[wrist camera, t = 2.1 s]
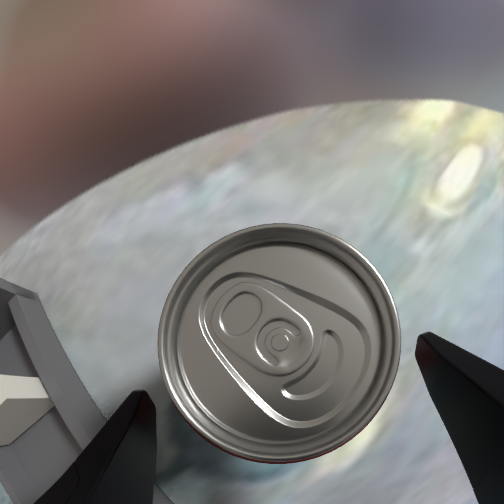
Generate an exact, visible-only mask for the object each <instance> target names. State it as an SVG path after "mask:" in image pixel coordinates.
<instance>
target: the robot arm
mask: <svg viewBox="0 0 504 504" xmlns="http://www.w3.org/2000/svg"><path fill="white" fill-rule="evenodd" d="M415 357H416V361H417V363H418V366H419V368H420V371H421V373H422V376H423V379H424V381H425V384H426V387H427V389H428V392H429V394H430V396H431V399H432V401H433V403H434V405H435V407H436V409H437V411H438V413H439V415H440V417H441V419H442V421H443V423H444V425H445V427H446V429H447V431H448V433H449V435H450V438H451V440H452V442H453V444H454V446H455V448H456V451H457V453H458V455H459V457H460V459H461V462H462V464H463V466H464V469H465V471H466V473H467V476H468V478H469V480H470V483H471V485H472V488H473V491H474V493H475V495H476V498H477V501H478V503H479V504H504V370H502V369H500V368H498V367H496V366H495V365H493V364H491V363H489V362H487V361H485V360H483V359H481V358H479V357H477V356H476V355H474V354H472V353H470V352H468V351H466V350H464V349H462V348H460V347H458V346H457V345H455V344H453V343H451V342H449V341H447V340H445V339H443V338H441V337H439V336H437V335H436V334H434V333H432V332H426V333H423V334H420V335H419V336H418V339H417V344H416V350H415ZM156 453H157V438H156V408H155V405H154V403H153V402H152V400H151V398H150V397H149V395H148V393H147V392H146V391H145V390H135V391H133V392H131V394H130V395H129V396H128V397H127V398H126V400H125V401H124V402H123V403H122V404H121V406H120V407H119V408H118V409H117V410H116V412H115V413H114V414H113V415H112V416H111V418H110V419H109V420H108V421H107V422H106V424H105V425H104V426H103V427H102V428H101V430H100V431H99V432H98V433H97V434H96V436H95V437H94V438H93V439H92V440H91V442H90V443H89V444H88V445H87V446H86V448H85V449H84V450H83V451H82V452H81V454H80V455H79V456H78V457H77V458H76V460H75V461H74V462H73V463H72V464H71V465H70V467H69V468H68V469H67V470H66V471H65V472H64V474H63V475H62V476H61V477H60V478H59V479H58V480H57V481H56V482H55V483H54V484H53V485H52V486H51V487H50V488H49V489H48V490H47V491H46V492H45V493H44V494H43V495H42V496H41V497H40V498H39V499H38V500H37V501H36V502H34V503H33V504H153V493H154V478H155V465H156Z"/></svg>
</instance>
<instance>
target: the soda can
mask: <svg viewBox="0 0 504 504" xmlns="http://www.w3.org/2000/svg"><path fill="white" fill-rule="evenodd" d="M400 353H401V329H400V322H399V317H398V313H397V309H396V306H395V303H394V300H393V297H392V295H391V293H390V291H389V289H388V286H387V285H386V283H385V281H384V280H383V278H382V276H381V275H380V274H379V272H378V271H377V270H376V268H375V267H374V266H373V265H372V264H371V263H370V261H369V260H368V259H367V258H366V257H365V256H364V255H362V254H361V253H360V252H359V251H358V250H357V249H355V248H354V247H353V246H351V245H350V244H348V243H347V242H345V241H344V240H342V239H340V238H338V237H336V236H334V235H332V234H330V233H328V232H325V231H322V230H320V229H316V228H313V227H309V226H304V225H298V224H287V223H273V224H263V225H258V226H253V227H249V228H246V229H242V230H239V231H237V232H234V233H232V234H229V235H227V236H225V237H223V238H221V239H219V240H218V241H216V242H215V243H213V244H211V245H210V246H209V247H207V248H206V249H205V250H203V251H202V252H201V253H200V254H199V255H197V256H196V257H195V258H194V259H193V260H192V261H191V262H190V263H189V264H188V266H187V267H186V268H185V269H184V270H183V272H182V273H181V274H180V276H179V277H178V279H177V280H176V282H175V283H174V285H173V287H172V289H171V291H170V293H169V295H168V297H167V299H166V302H165V305H164V307H163V311H162V315H161V318H160V324H159V330H158V357H159V364H160V369H161V373H162V377H163V380H164V383H165V386H166V388H167V391H168V393H169V395H170V397H171V399H172V401H173V403H174V405H175V406H176V408H177V410H178V411H179V413H180V414H181V415H182V417H183V418H184V419H185V421H186V422H187V423H188V424H189V425H190V426H191V427H192V428H193V429H194V431H196V432H197V433H198V434H199V435H200V436H201V437H202V438H204V439H205V440H206V441H208V442H209V443H211V444H212V445H214V446H215V447H217V448H219V449H221V450H222V451H224V452H227V453H229V454H231V455H233V456H236V457H239V458H242V459H245V460H250V461H254V462H259V463H269V464H287V463H296V462H301V461H306V460H310V459H313V458H317V457H320V456H322V455H325V454H327V453H329V452H332V451H333V450H335V449H337V448H339V447H341V446H342V445H344V444H345V443H347V442H348V441H350V440H351V439H353V438H354V437H355V436H356V435H357V434H359V433H360V432H361V431H362V430H363V429H364V428H365V427H366V426H367V425H368V424H369V423H370V421H371V420H372V419H373V418H374V416H375V415H376V414H377V413H378V411H379V410H380V408H381V406H382V405H383V403H384V401H385V400H386V398H387V396H388V394H389V392H390V390H391V388H392V385H393V382H394V380H395V377H396V373H397V370H398V366H399V360H400Z"/></svg>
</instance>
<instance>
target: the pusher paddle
mask: <svg viewBox="0 0 504 504" xmlns="http://www.w3.org/2000/svg"><path fill="white" fill-rule="evenodd" d="M54 406H55V405H54V403H53V401H52V399H51V397H50V396H49V394H48V392H47V390H46V388H45V386H44V384H43V382H42V380H41V378H39V377H23V376H11V375H0V446H2V445H9V444H10V443H12V442H13V441H14V440H15V439H16V438H17V437H19V436H20V435H21V434H22V433H23V432H24V431H26V430H27V429H28V428H29V427H30V426H31V425H33V424H34V423H35V422H36V421H37V420H38V419H40V418H41V417H42V416H43V415H44V414H45V413H47V412H48V411H49V410H50V409H51V408H53V407H54Z"/></svg>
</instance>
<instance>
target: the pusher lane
mask: <svg viewBox="0 0 504 504" xmlns="http://www.w3.org/2000/svg"><path fill="white" fill-rule="evenodd" d="M0 375H11V376H23V377H39V378H41V380H42V382H43V384H44V386H45V388H46V390H47V392H48V394H49V396H50V397H51V399H52V401H53V403H54V405H55V406H54V407H53V408H51V409H50V410H49V411H48V412H47V413H45V414H44V415H43V416H42V417H41V418H40V419H38V420H37V421H36V422H35V423H34V424H33V425H31V426H30V427H29V428H28V429H27V430H26V431H24V432H23V433H22V434H21V435H20V436H19V437H17V438H16V439H15V440H14V441H13V442H12V443H10V444H9V445H2V446H0V482H1V484H2V485H3V487H4V489H5V490H6V492H7V493H8V495H9V497H10V498H11V500H12V501H13V503H14V504H33V503H34V502H36V501H37V500H38V499H39V498H40V497H41V496H42V495H43V494H44V493H45V492H46V491H47V490H48V489H49V488H50V487H51V486H52V485H53V484H54V483H55V482H56V481H57V480H58V479H59V478H60V477H61V476H62V475H63V474H64V472H65V471H66V470H67V469H68V468H69V467H70V465H71V464H72V463H73V462H74V461H75V460H76V458H77V457H78V456H79V455H80V454H81V452H82V451H83V450H84V449H85V448H86V446H87V445H88V444H89V443H90V442H91V440H92V439H93V438H94V437H95V436H96V434H97V433H98V432H99V431H100V430H101V428H102V427H103V426H104V425H105V424H106V422H107V421H106V419H105V418H104V416H103V415H102V413H101V412H100V410H99V409H98V407H97V406H96V404H95V403H94V401H93V399H92V398H91V396H90V395H89V393H88V391H87V390H86V388H85V387H84V385H83V383H82V382H81V380H80V378H79V376H78V375H77V373H76V371H75V369H74V368H73V366H72V364H71V362H70V361H69V359H68V357H67V355H66V353H65V351H64V349H63V348H62V346H61V344H60V342H59V340H58V338H57V336H56V334H55V332H54V330H53V328H52V326H51V324H50V322H49V319H48V317H47V315H46V313H45V311H44V309H43V306H42V304H41V302H40V299H39V297H38V295H37V293H34V292H32V291H30V290H27V289H25V288H22V287H20V286H18V285H15V284H13V283H11V282H8V281H6V280H4V279H2V278H0ZM153 504H173V503H172V501H171V500H170V499H169V498H168V497H167V496H166V495H165V494H164V493H163V492H162V491H161V489H160V488H159V487H158V486H157V485H156V484H155V483H154V493H153Z"/></svg>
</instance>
